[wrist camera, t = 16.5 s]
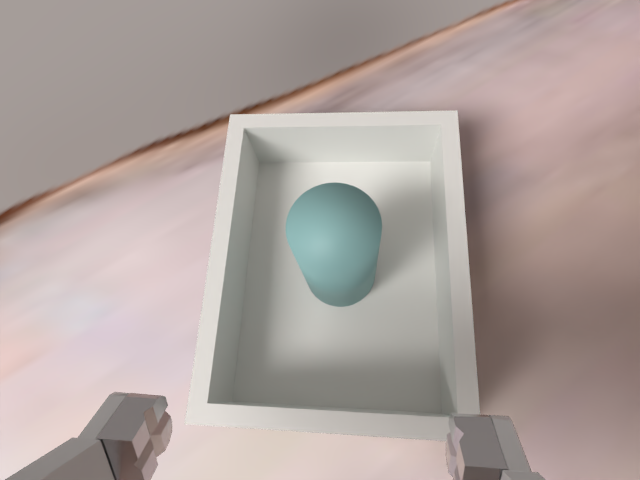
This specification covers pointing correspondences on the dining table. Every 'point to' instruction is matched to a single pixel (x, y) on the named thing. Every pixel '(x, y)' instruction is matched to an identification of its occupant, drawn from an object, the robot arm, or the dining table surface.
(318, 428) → the tote
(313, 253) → the teal cylinder
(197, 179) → the dining table surface
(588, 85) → the dining table surface
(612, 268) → the dining table surface
